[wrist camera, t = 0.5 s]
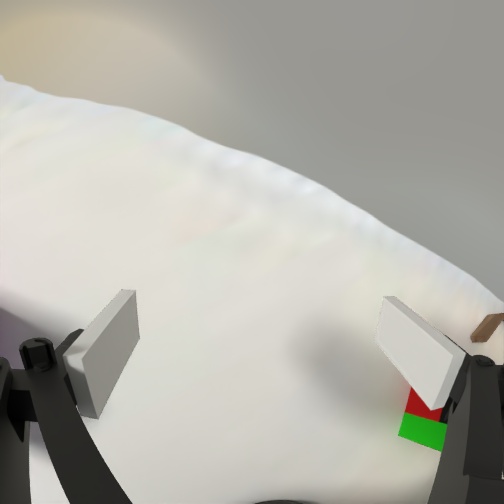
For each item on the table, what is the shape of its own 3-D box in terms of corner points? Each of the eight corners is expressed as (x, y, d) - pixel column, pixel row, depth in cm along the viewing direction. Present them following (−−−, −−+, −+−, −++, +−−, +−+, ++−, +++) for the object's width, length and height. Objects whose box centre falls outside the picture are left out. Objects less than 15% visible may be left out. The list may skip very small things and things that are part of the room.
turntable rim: (510, 425, 36) (521, 426, 33) (454, 457, 32) (466, 462, 29) (521, 312, 42) (532, 310, 39) (470, 315, 38) (485, 314, 35)
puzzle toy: (458, 368, 36) (509, 370, 26) (442, 431, 33) (491, 443, 24) (415, 364, 34) (472, 368, 25) (397, 435, 32) (449, 454, 22)
